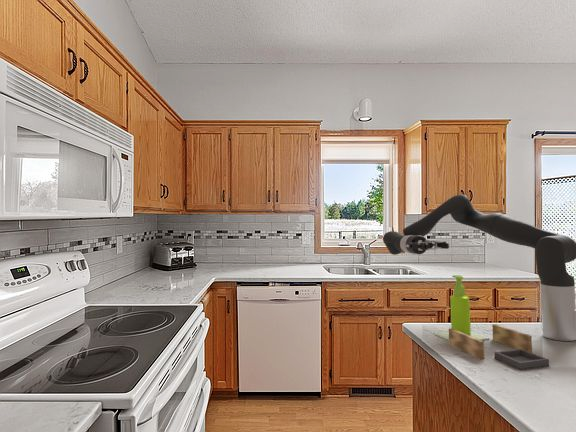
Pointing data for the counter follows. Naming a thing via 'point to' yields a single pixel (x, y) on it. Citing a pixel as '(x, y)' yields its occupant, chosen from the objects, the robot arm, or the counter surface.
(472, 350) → the oak channel
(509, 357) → the pit tray
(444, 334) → the mat
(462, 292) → the soap dispenser
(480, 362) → the counter surface
